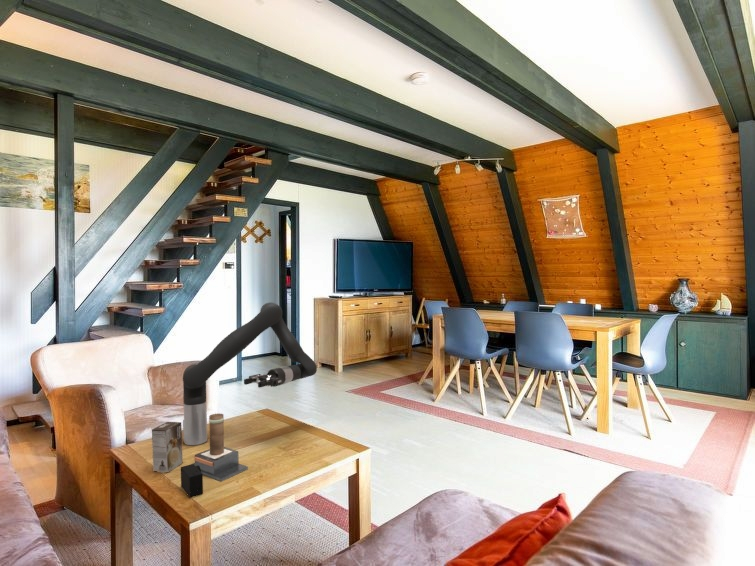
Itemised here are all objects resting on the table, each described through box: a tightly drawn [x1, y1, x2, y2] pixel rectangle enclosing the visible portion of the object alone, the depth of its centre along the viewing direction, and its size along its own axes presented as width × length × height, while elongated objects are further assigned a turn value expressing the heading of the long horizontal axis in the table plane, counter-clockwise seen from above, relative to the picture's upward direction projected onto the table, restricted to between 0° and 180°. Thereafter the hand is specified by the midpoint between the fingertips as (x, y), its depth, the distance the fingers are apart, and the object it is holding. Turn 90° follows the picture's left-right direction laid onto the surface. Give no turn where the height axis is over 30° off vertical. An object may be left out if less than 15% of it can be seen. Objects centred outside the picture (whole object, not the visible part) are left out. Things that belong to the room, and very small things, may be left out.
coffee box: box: [151, 421, 184, 473], centre depth 176 cm, size 9×6×16 cm
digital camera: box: [180, 463, 204, 499], centre depth 158 cm, size 10×5×7 cm, turn 38°
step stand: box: [189, 446, 249, 482], centre depth 175 cm, size 20×12×6 cm, turn 57°
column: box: [208, 413, 225, 455], centre depth 174 cm, size 5×5×14 cm
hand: (251, 383), depth 192 cm, fingers open, 8 cm apart
